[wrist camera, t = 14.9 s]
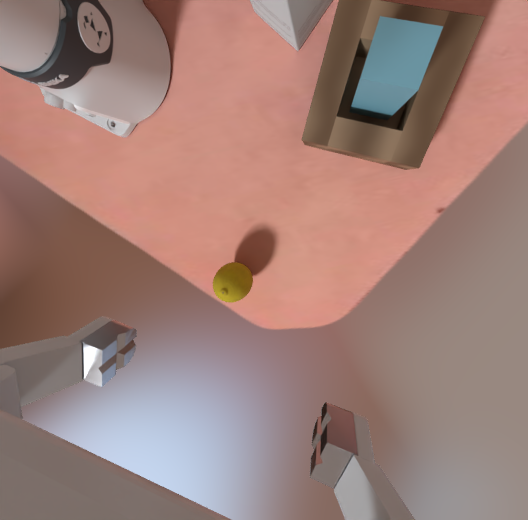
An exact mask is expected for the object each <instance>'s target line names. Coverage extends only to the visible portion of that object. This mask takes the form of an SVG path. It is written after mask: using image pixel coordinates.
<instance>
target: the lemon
mask: <svg viewBox="0 0 528 520" xmlns="http://www.w3.org/2000/svg"><path fill="white" fill-rule="evenodd" d="M252 283H253V278H252V274H251V271H250V270H249V269H248V268H247V267H246V266H245V265H243V264H241V263H237V262H232V263H228V264H226V265H224V266H223V267H221V268H220V269H219V270H218V272H217V273H216V275H215V277H214V280H213V289H214V292H215V294H216V296H217V297H218V298H219V299H221V300H222V301H225V302H236V301H239V300H241V299H242V298H244V297H245V296H246V295H247V294H248V293H249V291H250V289H251V287H252Z"/></svg>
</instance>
